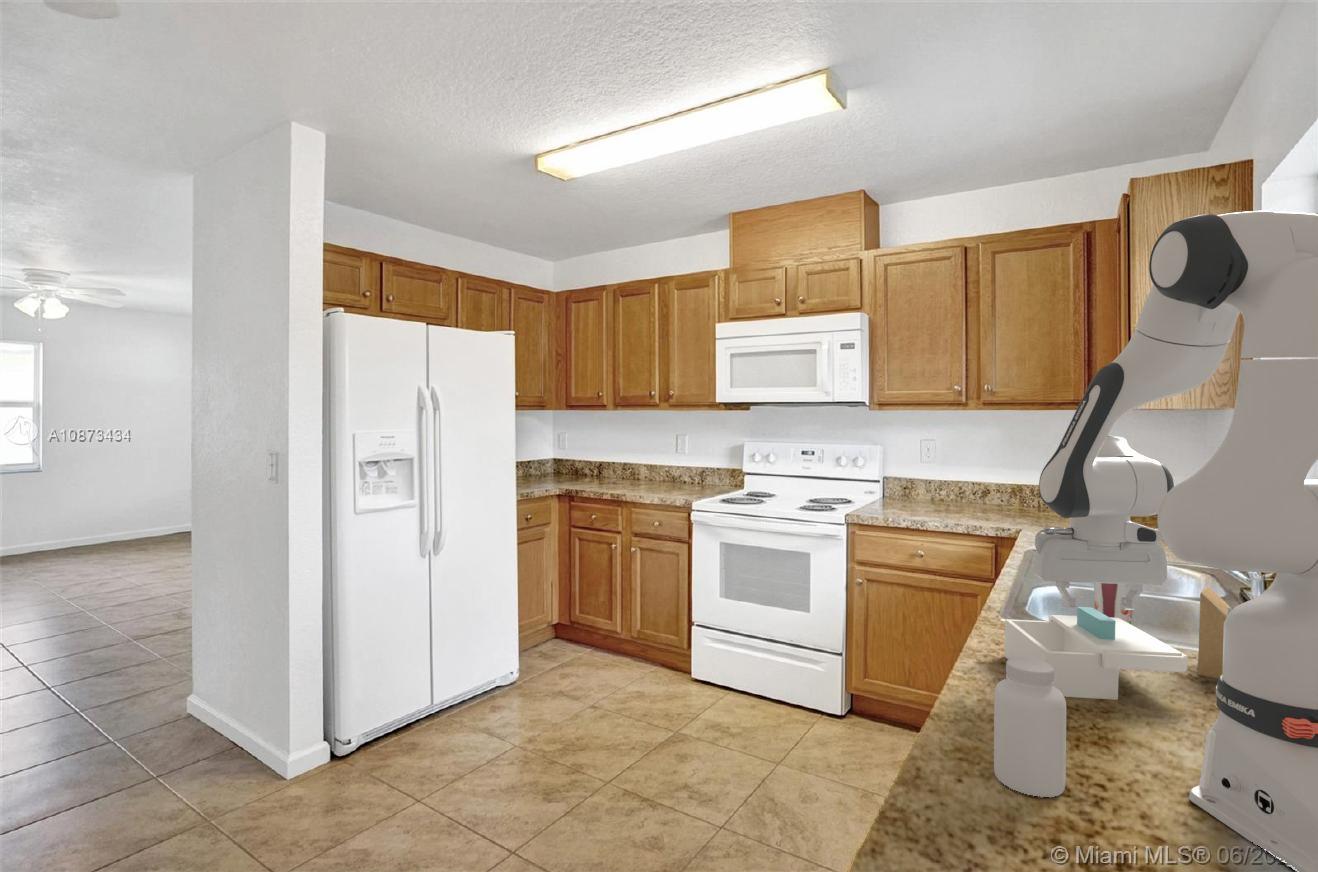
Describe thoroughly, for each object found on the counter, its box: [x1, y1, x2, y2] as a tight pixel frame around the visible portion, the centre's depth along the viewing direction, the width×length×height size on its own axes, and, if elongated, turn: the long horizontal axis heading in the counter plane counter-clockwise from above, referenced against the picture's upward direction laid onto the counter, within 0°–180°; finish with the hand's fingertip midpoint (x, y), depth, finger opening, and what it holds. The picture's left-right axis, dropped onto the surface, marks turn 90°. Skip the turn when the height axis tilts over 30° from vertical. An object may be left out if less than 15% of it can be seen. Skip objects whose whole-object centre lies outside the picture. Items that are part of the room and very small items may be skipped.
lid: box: [1048, 606, 1188, 673], centre depth 117 cm, size 20×13×6 cm, turn 172°
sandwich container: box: [1197, 584, 1233, 680], centre depth 117 cm, size 9×15×15 cm, turn 46°
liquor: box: [1093, 583, 1133, 625], centre depth 133 cm, size 7×7×28 cm
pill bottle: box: [993, 658, 1067, 798], centre depth 84 cm, size 8×8×15 cm
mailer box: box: [1004, 618, 1120, 701], centre depth 118 cm, size 18×11×7 cm, turn 172°
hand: (1098, 608), depth 117 cm, fingers open, 8 cm apart
